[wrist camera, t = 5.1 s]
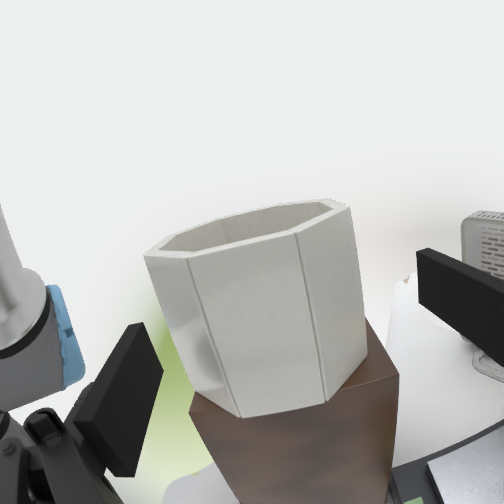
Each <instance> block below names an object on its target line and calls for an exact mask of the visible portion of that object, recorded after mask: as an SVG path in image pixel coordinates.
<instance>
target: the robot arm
mask: <svg viewBox="0 0 504 504" xmlns="http://www.w3.org/2000/svg"><path fill="white" fill-rule="evenodd" d="M416 257H417V271H418V272H417V273H418V299H419V303H420V304H421V305H422V306H424V307H425V308H427V309H428V310H429V311H431V312H432V313H433V314H435V315H436V316H438V317H439V318H440V319H441V320H443V321H444V322H445V323H447V324H448V325H449V326H451V327H452V328H453V329H455V330H456V331H457V332H459V333H460V334H461V335H463V336H464V337H465V338H467V339H468V340H469V341H470V342H472V343H473V344H474V345H476V346H477V347H478V348H479V349H481V350H482V351H483V352H484V353H486V354H487V355H488V356H489V357H491V358H492V359H493V360H494V361H496V362H497V363H498V364H499V365H501V366H502V367H504V280H503V279H501V278H499V277H496V276H492V275H490V274H488V273H486V272H483V271H481V270H479V269H477V268H475V267H472V266H470V265H468V264H466V263H463V262H461V261H459V260H456V259H454V258H451V257H449V256H447V255H445V254H442V253H440V252H437V251H435V250H433V249H430V248H426V249H423V250H419V251H417V252H416ZM163 372H164V370H163V368H162V366H161V364H160V362H159V360H158V357H157V355H156V352H155V350H154V347H153V345H152V343H151V341H150V338H149V336H148V333H147V331H146V328H145V326H144V323H143V322H141V323H136V324H131V325H128V327H127V328H126V330H125V331H124V333H123V335H122V336H121V338H120V339H119V341H118V343H117V344H116V346H115V348H114V349H113V351H112V353H111V354H110V356H109V358H108V359H107V361H106V363H105V364H104V366H103V368H102V369H101V371H100V373H99V374H98V376H97V378H96V379H95V381H94V382H91V383H90V384H89V385H88V386H87V387H85V388H84V390H82V392H81V394H80V395H79V397H78V400H77V401H76V402H75V404H74V407H72V409H71V411H70V413H69V414H68V416H67V418H66V420H65V421H64V423H63V422H62V421H61V419H60V418H59V417H58V415H57V414H56V412H55V411H54V410H53V409H52V408H41V409H39V410H36V411H35V412H33V413H32V414H30V415H29V416H28V417H27V418H26V420H25V422H24V425H23V426H22V425H20V424H19V423H18V422H17V421H15V420H14V419H13V418H12V417H11V416H10V414H9V413H8V411H10V410H13V409H15V408H18V407H21V406H23V405H26V404H28V403H31V402H34V401H36V400H39V399H41V398H44V397H46V396H49V395H51V394H54V393H56V392H59V391H63V390H65V389H66V387H68V386H69V385H72V384H73V383H76V382H77V381H79V380H81V379H82V378H83V376H84V374H85V363H84V360H83V357H82V354H81V351H80V348H79V345H78V342H77V339H76V336H75V334H74V332H73V328H72V325H71V321H70V318H69V315H68V312H67V308H66V305H65V302H64V299H63V296H62V293H61V290H60V288H59V287H58V286H57V285H47V286H45V285H44V282H43V281H42V279H41V277H40V276H39V275H38V274H37V273H36V272H34V271H32V270H30V269H27V268H23V267H22V265H21V262H20V260H19V257H18V255H17V252H16V250H15V247H14V244H13V241H12V239H11V236H10V233H9V230H8V227H7V224H6V222H5V218H4V215H3V212H2V209H1V206H0V504H124V503H123V502H122V500H121V499H120V497H119V496H118V494H117V493H116V491H115V490H114V488H113V487H112V485H111V483H110V482H109V480H108V479H107V478H106V477H105V476H104V473H105V470H106V467H107V468H108V469H109V470H110V471H111V473H112V474H113V475H114V476H115V477H135V473H136V469H137V465H138V461H139V457H140V454H141V450H142V446H143V442H144V438H145V435H146V431H147V427H148V424H149V420H150V417H151V413H152V409H153V406H154V402H155V399H156V395H157V392H158V389H159V385H160V382H161V379H162V375H163Z"/></svg>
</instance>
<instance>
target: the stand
mask: <svg viewBox="0 0 504 504" xmlns="http://www.w3.org/2000/svg"><path fill="white" fill-rule="evenodd" d="M365 324H366V336H367V350H368V353H367V357H366V358H365V359H364V360H363V361H362V363H361V364H360V365H359V366H358V368H357V369H356V370H355V371H354V372H353V373H352V375H351V376H350V377H349V378H348V379H347V380H346V382H345V383H344V384H343V385H342V386H341V387H340V388H339V390H338V391H337V392H336V393H335V394H334V395H333V396H332V397H331V398H330V399H329V401H325V403H323V404H318V405H314V406H309V407H305V408H300V409H295V410H290V411H285V412H279V413H274V414H268V415H262V416H255V417H249V418H242V417H239V418H238V417H237V416H235V415H233V414H232V413H230V412H228V411H227V410H225V409H223V408H222V407H220V406H218V405H217V404H215V403H213V402H212V401H210V400H209V399H207V398H206V397H204V396H202V395H201V394H199V393H198V392H196V391H195V394H194V397H193V400H192V404H191V406H190V410H189V415H190V417H191V419H192V421H193V423H194V425H195V427H196V428H197V431H198V432H199V434H200V436H201V438H202V440H203V442H204V444H205V445H206V447H207V449H208V451H209V453H210V454H211V456H212V458H213V460H214V461H215V463H216V465H217V467H218V468H219V470H220V472H221V473H222V475H223V477H224V478H225V480H226V482H227V483H228V485H229V487H230V488H231V490H232V491H233V493H234V495H235V496H236V498H237V499H238V501H239V502H240V504H385V502H386V497H387V492H388V486H389V480H390V474H391V467H392V460H393V452H394V444H395V435H396V424H397V411H398V395H399V373H398V371H397V369H396V367H395V366H394V364H393V362H392V360H391V359H390V357H389V355H388V354H387V352H386V350H385V349H384V347H383V345H382V344H381V342H380V340H379V339H378V337H377V335H376V334H375V332H374V330H373V329H372V327H371V325H370V324H369V322H368V320H367V319H366V317H365Z"/></svg>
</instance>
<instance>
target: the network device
mask: <svg viewBox="0 0 504 504" xmlns="http://www.w3.org/2000/svg"><path fill="white" fill-rule="evenodd" d="M461 243H462V262H463V263H466V264H468V265H470V266H472V267H475V268H477V269H479V270H481V271H483V272H486V273H488V274H490V275H492V276H496V277H499V278H501V279H503V280H504V213H503V212H491V211H477V212H475V213H474V214H472V215H470V216H468V217H467V218H465V219H464V220H463V221H462V223H461ZM460 335H461V334H460ZM461 337H462V339H463V340H464V341H466V342H468V343H471V344H473V343H472V342H470V341H469V340H468V339H467V338H465V337H464V336H463V335H461ZM473 345H474V344H473ZM484 354H485V353H484V352H483V351H482V350H481V349H478V350H477V351H476V352H475V354H474V356H473V360H472V363H473V366H474V368H475V369H476V370H477V371H479V372H481V373H483V374H485V375H488V376H490V377H492V378H495V379H497V380H499V381H502V382H504V373H502V372H500V371H497V370H495V369H493V368H490V367H488V366H485V365H483V364H481V363H480V362H479V360H480V359H481V358H482V357H483V355H484Z"/></svg>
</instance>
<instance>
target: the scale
mask: <svg viewBox="0 0 504 504" xmlns="http://www.w3.org/2000/svg"><path fill="white" fill-rule="evenodd" d="M503 425H504V419H503V420H502V421H500V422H498V423H496V424H494V425H493V426H491V427H489V428H487V429H485V430H483V431H481V432H479V433H477V434H476V435H474V436H471V437H469V438H467V439H465V440H463V441H461V442H459V443H457V444H454V445H452V446H450V447H448V448H445V449H443V450H441V451H438V452H436V453H433V454H431V455H428V456H426V457H423V458H420V459H418V460H415V461H412V462H409V463H407V464H404V465H401V466H398V467H395V468H391V474H390V480H389V487H390V490H391V494H392V497H393V500H394V504H440V502H439V500H438V497H437V494H436V492H435V490H434V487H433V485H432V482H431V480H430V477H429V475H428V473H427V470H426V468H425V467H426V464H427V462H429V461H431V460H434V459H436V458H438V457H441V456H443V455H446V454H448V453H450V452H452V451H455V450H457V449H459V448H461V447H463V446H465V445H467V444H469V443H471V442H474V441H475V440H477V439H479V438H481V437H483V436H485V435H487V434H489V433H491V432H493V431H494V430H496V429H498V428H500V427H501V426H503Z"/></svg>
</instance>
